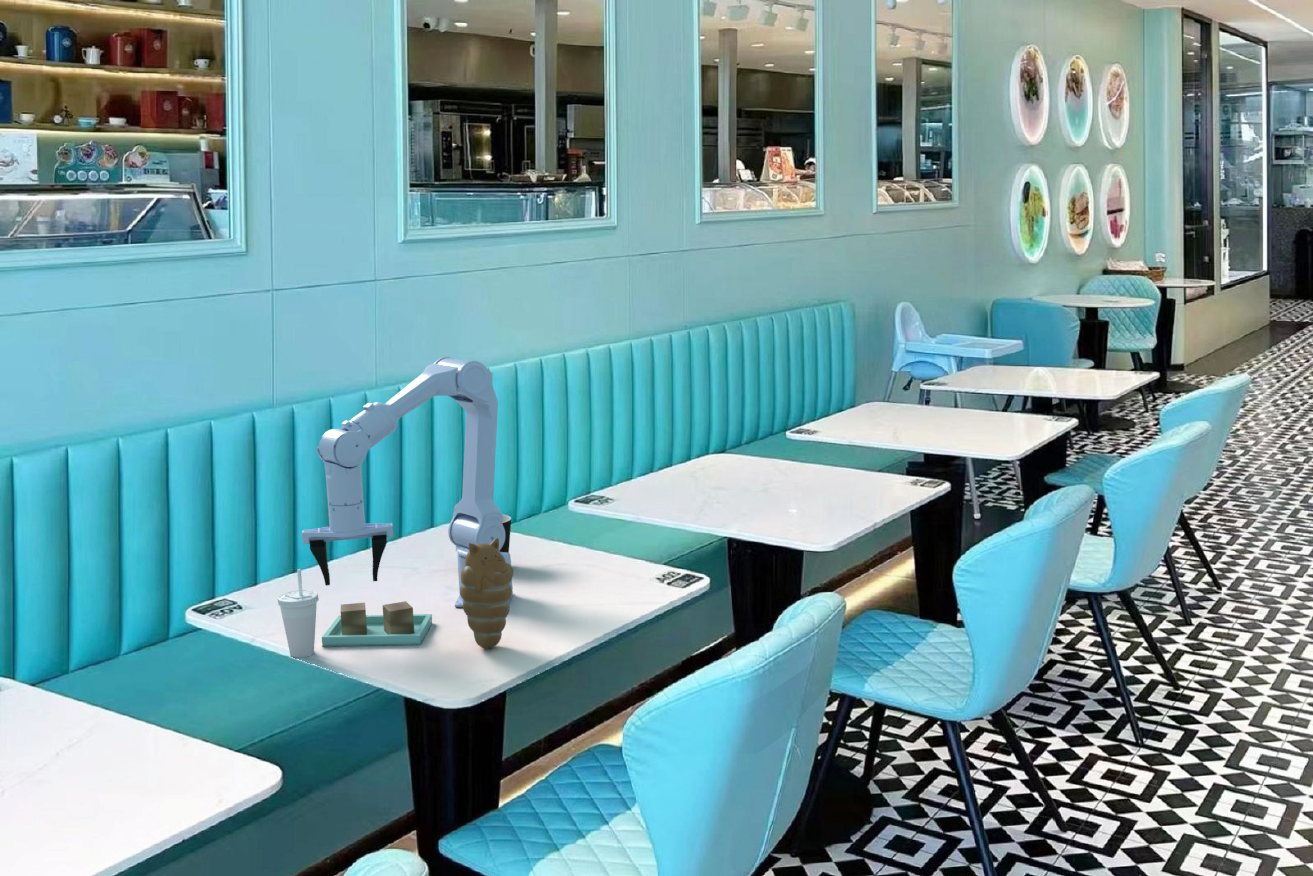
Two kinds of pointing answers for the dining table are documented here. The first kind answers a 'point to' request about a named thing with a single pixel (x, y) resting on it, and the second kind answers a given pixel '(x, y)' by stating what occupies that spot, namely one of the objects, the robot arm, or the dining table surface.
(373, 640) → the tray
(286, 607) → the smoothie
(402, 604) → the block
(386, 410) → the robot arm
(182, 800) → the dining table surface
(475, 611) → the cat ice cream
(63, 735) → the dining table surface
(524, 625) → the dining table surface
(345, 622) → the block
